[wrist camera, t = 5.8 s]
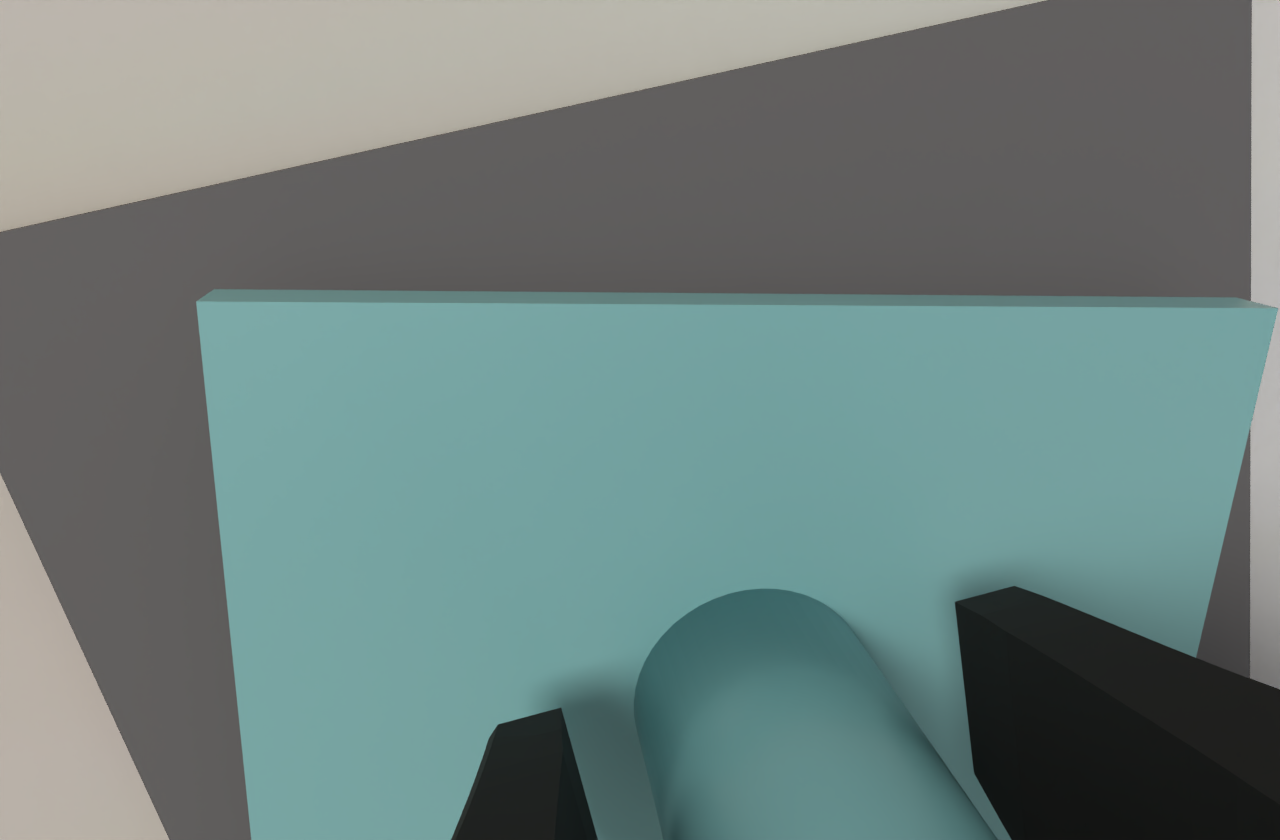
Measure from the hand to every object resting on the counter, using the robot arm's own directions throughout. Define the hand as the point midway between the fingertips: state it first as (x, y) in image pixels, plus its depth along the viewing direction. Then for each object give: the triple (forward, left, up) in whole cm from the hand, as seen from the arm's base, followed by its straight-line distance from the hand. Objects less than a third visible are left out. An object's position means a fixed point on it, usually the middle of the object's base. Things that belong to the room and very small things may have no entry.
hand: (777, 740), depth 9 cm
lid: (0, 0, -2) cm, 2 cm away
